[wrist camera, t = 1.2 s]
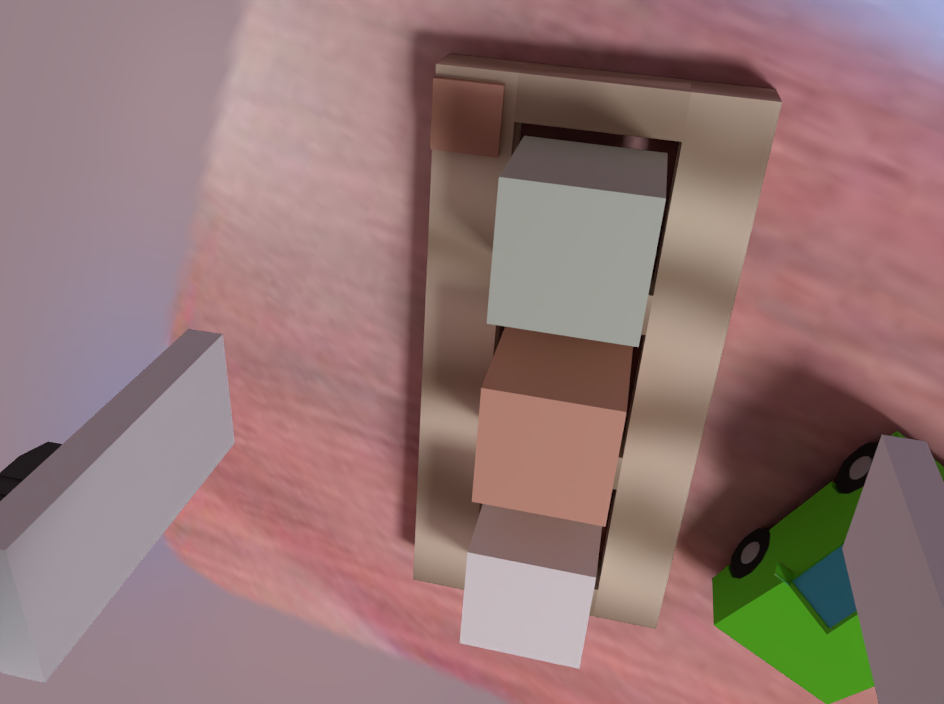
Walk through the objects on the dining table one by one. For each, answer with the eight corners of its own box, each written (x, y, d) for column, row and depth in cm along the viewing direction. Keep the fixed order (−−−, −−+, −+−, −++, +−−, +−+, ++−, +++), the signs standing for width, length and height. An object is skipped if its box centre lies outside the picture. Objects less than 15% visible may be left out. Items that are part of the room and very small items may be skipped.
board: (449, 53, 38) (433, 65, 35) (775, 89, 36) (783, 104, 33) (424, 550, 52) (411, 584, 49) (656, 596, 50) (655, 634, 47)
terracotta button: (506, 324, 41) (481, 387, 35) (633, 344, 40) (626, 412, 34) (496, 428, 43) (471, 501, 38) (614, 449, 43) (605, 526, 37)
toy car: (689, 555, 48) (691, 700, 40) (875, 405, 42) (927, 540, 33) (826, 653, 49) (857, 814, 41) (1028, 522, 43) (1116, 681, 34)
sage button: (524, 135, 36) (499, 177, 31) (667, 152, 35) (666, 198, 30) (511, 266, 39) (486, 323, 34) (643, 285, 38) (638, 347, 33)
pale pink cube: (491, 476, 45) (467, 552, 40) (605, 497, 44) (596, 577, 39) (483, 561, 48) (459, 643, 43) (589, 582, 47) (579, 668, 42)
